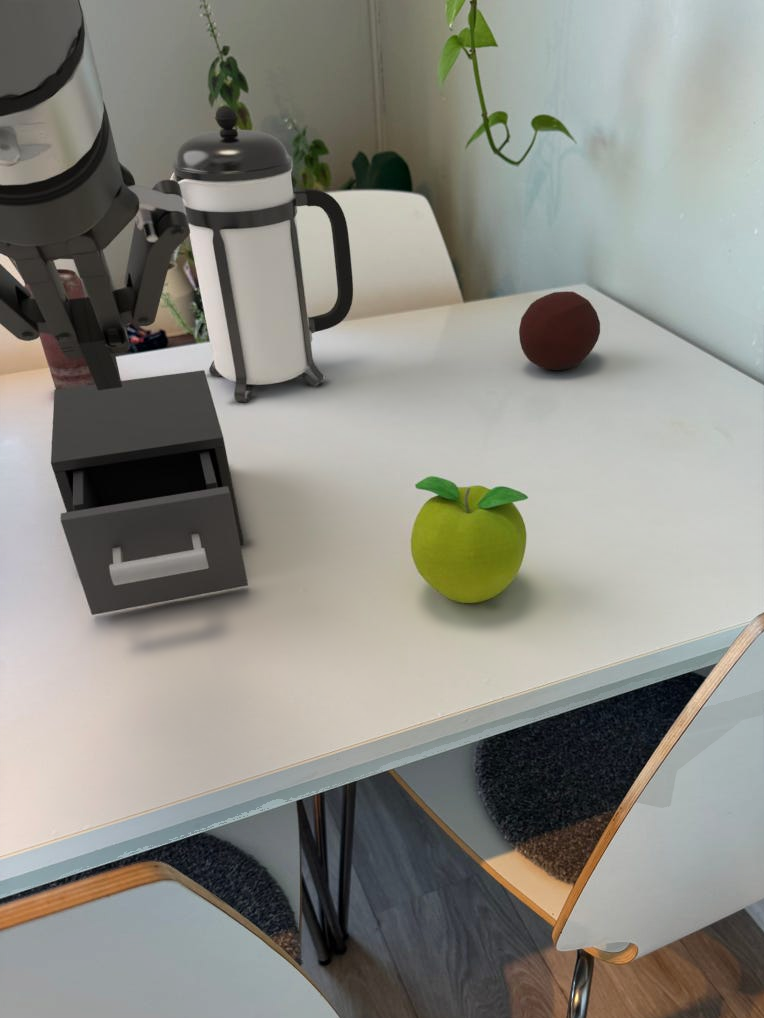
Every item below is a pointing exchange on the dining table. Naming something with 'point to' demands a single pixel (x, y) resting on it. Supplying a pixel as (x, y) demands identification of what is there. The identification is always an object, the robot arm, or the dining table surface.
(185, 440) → the small grey cabinet
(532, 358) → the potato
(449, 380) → the dining table surface
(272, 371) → the coffee press
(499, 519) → the fruit
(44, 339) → the can
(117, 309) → the robot arm
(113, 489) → the drawer
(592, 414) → the dining table surface
